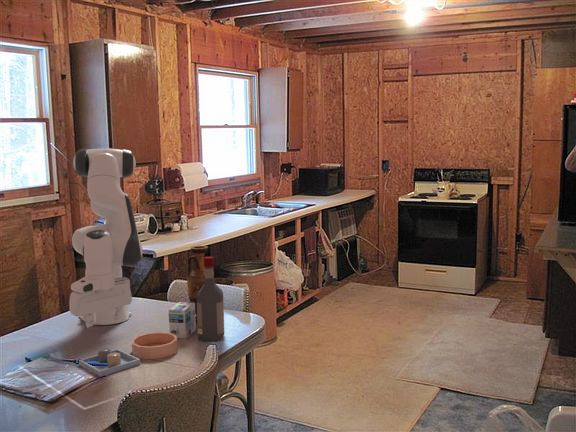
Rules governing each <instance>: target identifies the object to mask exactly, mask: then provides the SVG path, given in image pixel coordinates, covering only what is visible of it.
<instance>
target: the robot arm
mask: <svg viewBox="0 0 576 432" xmlns="http://www.w3.org/2000/svg"><path fill="white" fill-rule="evenodd" d="M72 163H73V164H72V165H73V169H74V170H75V173H76V175H77V176H79V177H81V178H82V177H83V178H87V180H86V181H87V182H86V184H87V185H86V186H87V187H86V188H87V196H88V198H89V199H90V209H91V211H92V213H93V214H95V215H96V216H98V217H101V218H103V219H104V220H105V222H104V223H103V224H97V225H88V226H84V227H81V228H77V229H76V230H75V231H74V232H73V234H72V237H71V245H72V247H73V249H74V250H75V251H76V253H78V254H80V255H82V261H83V262H84V263H85V271H84V272H85V273H84V274H85V276H84V277H81V278H80V279H79V280H76V281H74V282H73V283H71V284H70V290H72V292H71V293H70V295H69V303H68V304H69V305H68V306H69V313H70V314H71V315H72V316H74V317H79V319H81V320H82V321H83V322H84V323H85V327H87V329H89V328H92V327H93V326H96V325H97V326H98V325H99V326H103V325H104V326H108V325H115V324H119V323H120V324H121V323H122V322H126V321H127V320H129V317H130V316H132V314H133V313H132V312H131V311H130V309H129V305H131V303H132V301H133V297H132V291H131V280H130V279H129V278H128V277H126V276H123V269H122V268H123V267H125V266H126V267H134V266H136V265H137V264H138V263H139V262H141V261H142V259H143V252H144V250H143V245H142V243H141V240H140V237H139V234H138V228H137V224H136V223H137V222H136V219H135V218H136V217H135V213H134V209H133V204H132V202H131V198H130V196H129V194H127V193H124V191H123V190H122V187H121V178H122V179H125V178H126V179H127V178H128V177H129V178H130V177H132V175H133V174H134V172H135V170H136V166H137V165H136V164H137V162H136V158H135V156H134V153H133V152H132V151H131V150H128V149H117V148H109V147H107V148H106V147H104V148H90V149H89V148H82V149H78V150H77V151H76V152H75V155H74V157H73V162H72ZM122 266H123V267H122Z"/></svg>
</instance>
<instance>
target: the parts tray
mask: <svg viewBox="0 0 576 432" xmlns="http://www.w3.org/2000/svg"><path fill="white" fill-rule="evenodd" d="M111 353H120V359H121V364H120V365H117V366H114V367H111V368H108V366H92V365H90V364H88V363H86V362H88V361H99V360H98V354H95V355H92V356H88V357H85V358H81V359H79V360H78V366H80V367H82V368H83V369H85V370H87V371H89V372H90V371H91V373H92V372H93V373H92V374H94V373H95V374H94V375H96V376H98V377H99V378H100V377H101V378H102V377H105V376H107V375H110V374H111V375H112V374H113V373H118V372H120V371H123V370H126V369H129V368H133V367H135V366H138V365H141V358H138V357H135V356H133V355H132V354H130V353H128V352H126V351H124V350H122V349H120V348H116V349H113V350H111Z"/></svg>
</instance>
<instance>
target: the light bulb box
mask: <svg viewBox="0 0 576 432" xmlns="http://www.w3.org/2000/svg"><path fill="white" fill-rule="evenodd" d="M195 316H196V314H195V303H190V301H189V302H187V301H178V302H177V303H176V304H175V305H173V306H171V307H170V308H169V309H168V323H169V324H168V325H169V326H168V328H169V333H171V334H174V335H176V337H177V339H188V337H190V336H191V335H192V334H193V333H194V332H196V330H197V324H196V319H195Z"/></svg>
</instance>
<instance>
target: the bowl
mask: <svg viewBox="0 0 576 432" xmlns="http://www.w3.org/2000/svg"><path fill="white" fill-rule="evenodd" d="M131 350H132V351H131V352H132V353H131V355H132V356H134V357H137V358H139V359H142V360H143V359H144V360H154V359H155V360H156V359H162V358H166V357H169V356H172V355H174V354H175V355H176V354H178V338H177V337H176V335H174V334H171V333H170V332H164V331H163V332H162V331H157V332H148V333H144V334H140V335H137V336H136V337H133V338H132V339H131Z"/></svg>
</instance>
